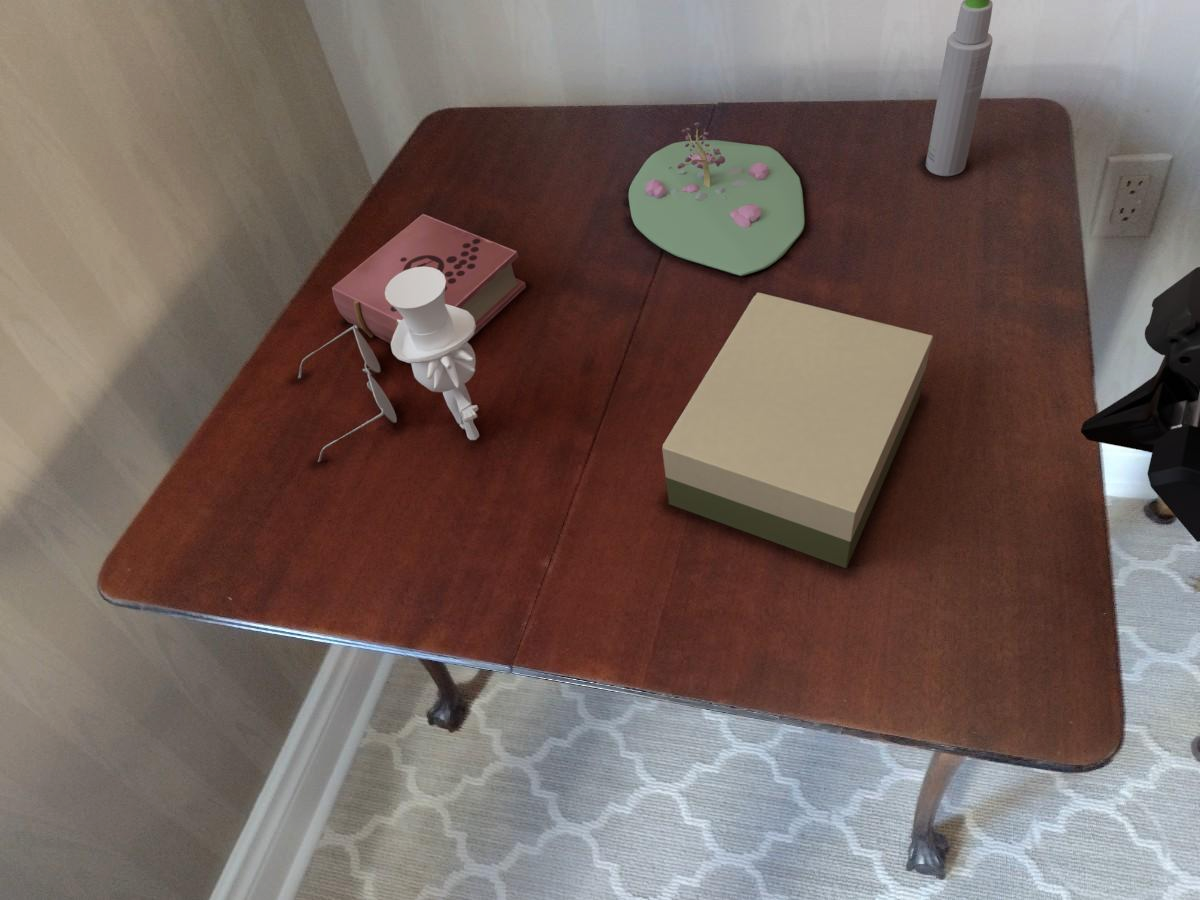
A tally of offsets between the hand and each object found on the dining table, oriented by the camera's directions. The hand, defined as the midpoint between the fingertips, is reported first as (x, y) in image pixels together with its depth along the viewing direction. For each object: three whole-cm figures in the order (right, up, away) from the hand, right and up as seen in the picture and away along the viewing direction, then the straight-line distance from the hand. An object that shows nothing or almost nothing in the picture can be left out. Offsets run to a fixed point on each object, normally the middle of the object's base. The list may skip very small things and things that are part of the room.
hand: (1084, 431), depth 62 cm
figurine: (-47, +1, +25) cm, 53 cm away
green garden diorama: (-20, +27, +41) cm, 53 cm away
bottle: (+6, +32, +41) cm, 52 cm away
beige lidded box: (-16, -1, +18) cm, 24 cm away
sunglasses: (-60, +3, +29) cm, 67 cm away
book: (-53, +15, +37) cm, 66 cm away
